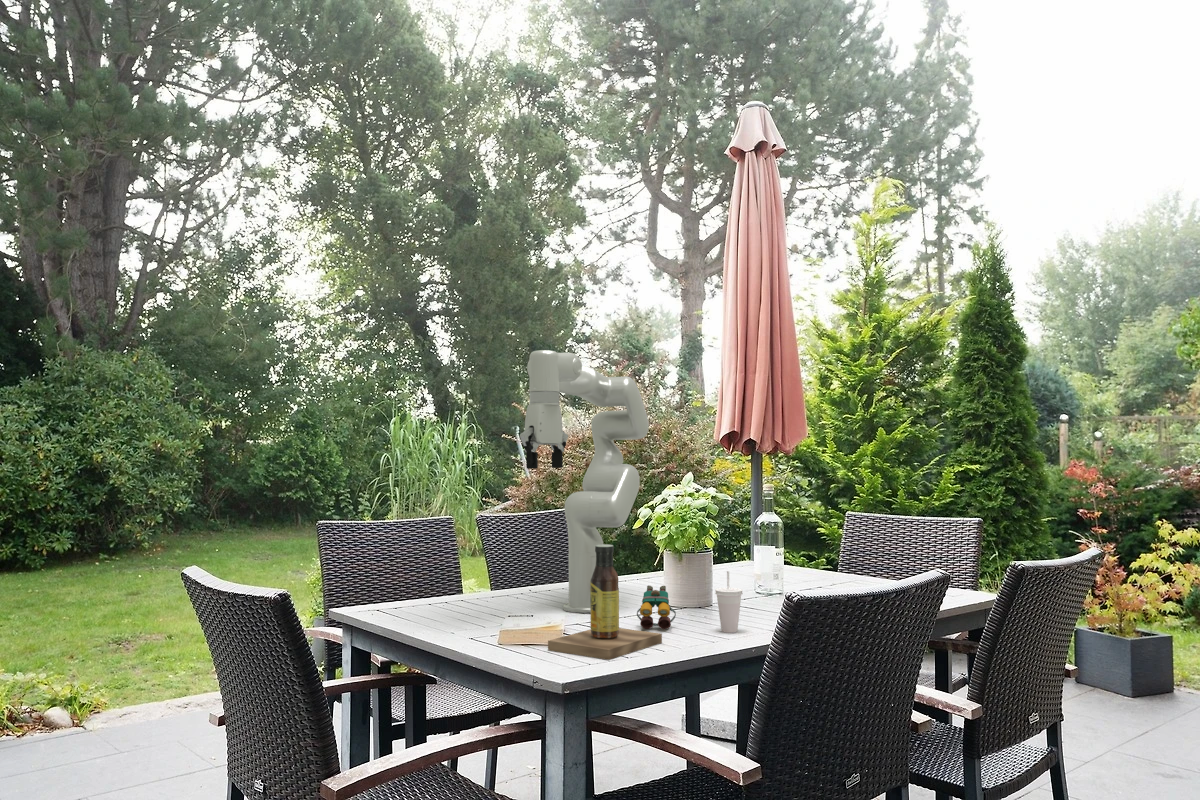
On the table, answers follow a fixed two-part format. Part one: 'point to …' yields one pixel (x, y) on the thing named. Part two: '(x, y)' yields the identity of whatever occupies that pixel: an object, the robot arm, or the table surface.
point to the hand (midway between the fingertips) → (544, 468)
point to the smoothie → (729, 607)
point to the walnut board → (605, 643)
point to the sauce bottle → (604, 595)
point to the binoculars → (664, 608)
